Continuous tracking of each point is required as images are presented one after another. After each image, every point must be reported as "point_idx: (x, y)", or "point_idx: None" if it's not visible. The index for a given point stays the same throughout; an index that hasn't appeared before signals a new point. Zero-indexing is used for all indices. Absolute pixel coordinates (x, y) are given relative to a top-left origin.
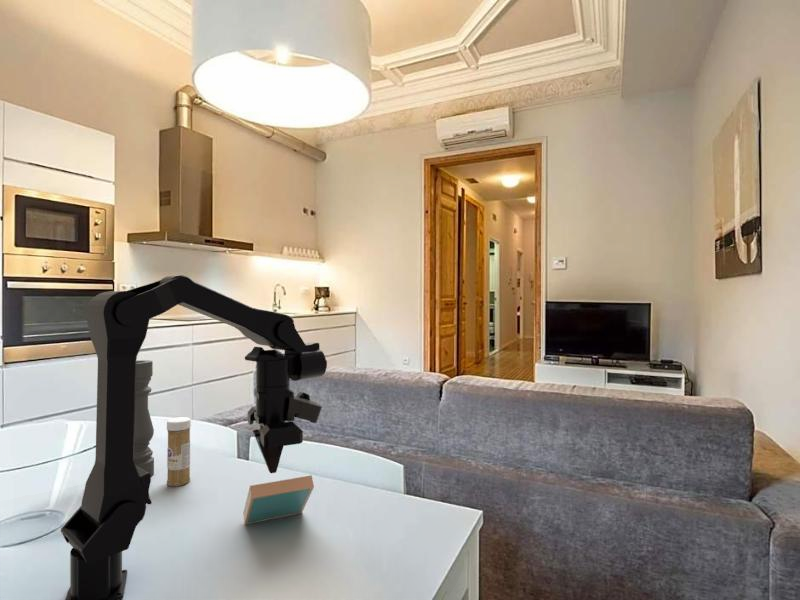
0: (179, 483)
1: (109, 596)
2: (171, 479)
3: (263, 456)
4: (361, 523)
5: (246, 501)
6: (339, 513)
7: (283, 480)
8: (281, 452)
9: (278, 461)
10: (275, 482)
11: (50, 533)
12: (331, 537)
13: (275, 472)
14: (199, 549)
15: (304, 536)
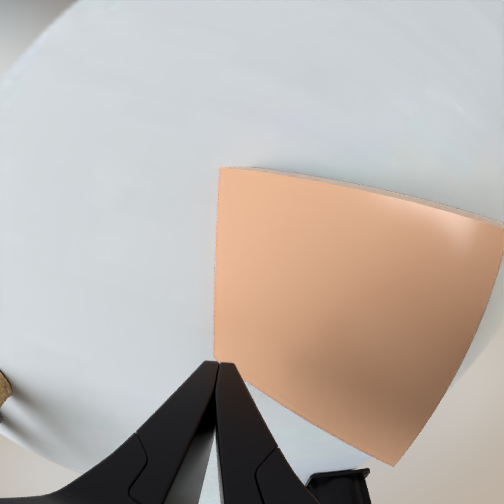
0: (7, 386)
1: (362, 477)
2: (5, 400)
3: (201, 485)
4: (420, 47)
5: (290, 406)
6: (329, 58)
7: (453, 377)
8: (289, 467)
9: (259, 413)
10: (437, 403)
11: None
12: (448, 157)
13: (234, 364)
14: (305, 420)
15: None
